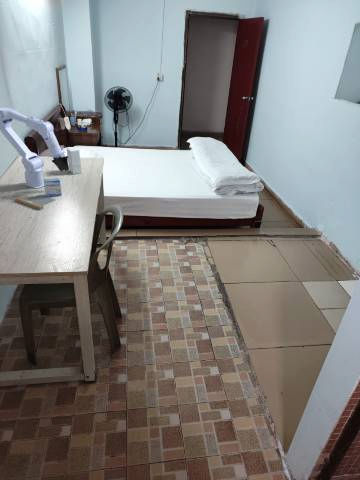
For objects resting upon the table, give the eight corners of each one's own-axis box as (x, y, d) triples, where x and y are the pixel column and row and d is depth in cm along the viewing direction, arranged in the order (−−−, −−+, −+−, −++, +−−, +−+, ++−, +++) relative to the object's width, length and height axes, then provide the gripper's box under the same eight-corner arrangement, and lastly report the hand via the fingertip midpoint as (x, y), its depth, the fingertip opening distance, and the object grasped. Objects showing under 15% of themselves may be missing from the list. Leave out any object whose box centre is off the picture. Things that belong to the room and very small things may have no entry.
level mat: (15, 201, 169) (14, 197, 168) (36, 193, 179) (35, 189, 178) (40, 210, 162) (39, 206, 161) (60, 201, 172) (59, 197, 171)
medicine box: (46, 197, 175) (44, 181, 171) (45, 194, 179) (43, 178, 174) (62, 195, 179) (60, 180, 174) (60, 192, 182) (58, 177, 178)
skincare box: (82, 173, 210) (80, 150, 202) (72, 174, 207) (70, 151, 199) (77, 169, 216) (75, 146, 208) (68, 170, 213) (66, 147, 205)
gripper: (65, 142, 169) (76, 167, 175) (56, 144, 181) (66, 168, 186) (52, 146, 166) (64, 172, 171) (44, 148, 177) (55, 172, 182)
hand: (64, 170), depth 178 cm, fingers open, 7 cm apart
